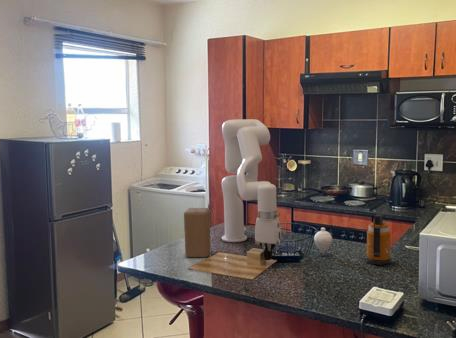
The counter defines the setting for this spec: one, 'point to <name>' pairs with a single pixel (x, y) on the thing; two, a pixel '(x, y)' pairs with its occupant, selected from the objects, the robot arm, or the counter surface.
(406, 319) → the counter surface
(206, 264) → the wooden board
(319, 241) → the spinning top
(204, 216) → the block
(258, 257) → the oak cube
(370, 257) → the amber tall bottle
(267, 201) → the robot arm
